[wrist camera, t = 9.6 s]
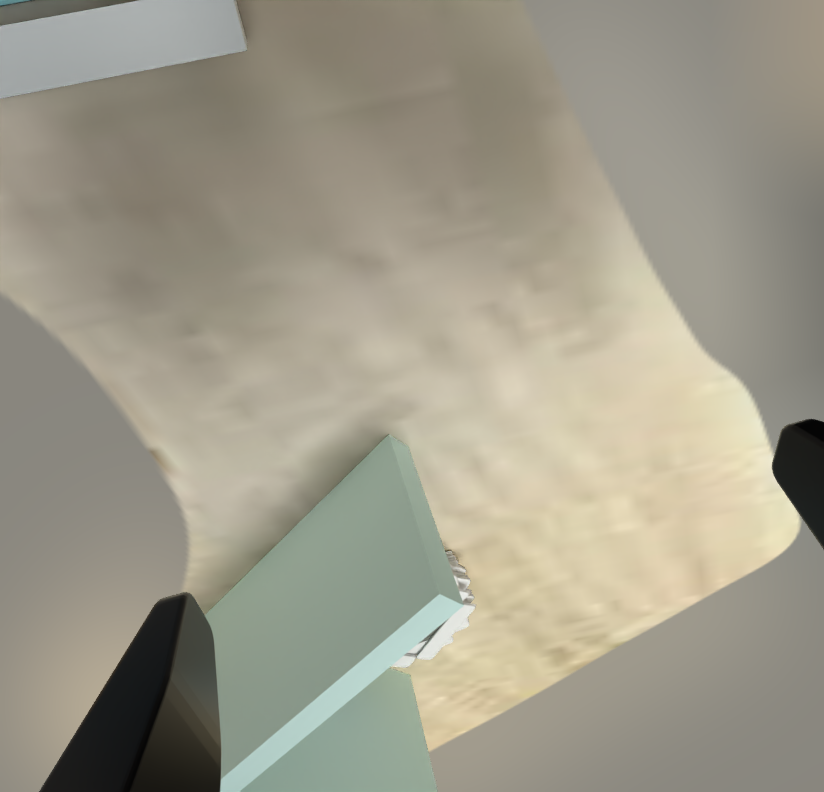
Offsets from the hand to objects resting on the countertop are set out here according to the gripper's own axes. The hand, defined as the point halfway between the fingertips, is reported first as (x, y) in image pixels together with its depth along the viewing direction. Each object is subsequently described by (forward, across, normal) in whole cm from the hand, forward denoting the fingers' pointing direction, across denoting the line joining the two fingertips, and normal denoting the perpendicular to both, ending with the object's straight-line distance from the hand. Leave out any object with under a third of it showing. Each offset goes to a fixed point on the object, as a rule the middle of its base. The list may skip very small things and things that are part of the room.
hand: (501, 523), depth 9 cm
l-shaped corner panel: (+12, +2, +16) cm, 20 cm away
